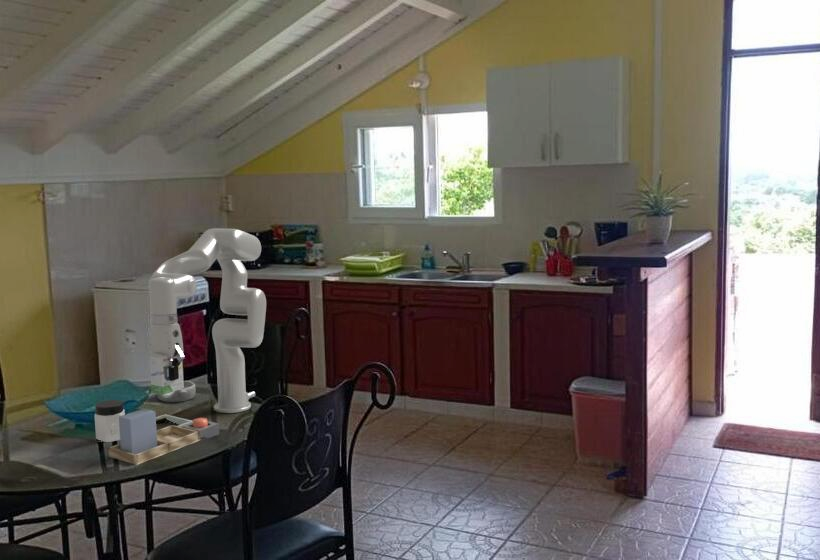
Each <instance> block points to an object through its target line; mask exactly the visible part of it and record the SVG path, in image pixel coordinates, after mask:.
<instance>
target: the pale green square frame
mask: <svg viewBox="0 0 820 560" xmlns="http://www.w3.org/2000/svg"><path fill="white" fill-rule="evenodd" d="M162 418H166V419H167V420H169V421H171V422H173V423H172V424H175V423H176V425H177V426H179V427H182V426H184V425H187V424H189V423H192V422H193V419H192V420H191V419H188V418H182V417H179V416H175V415H170V414H166V413H164V414H162V415H159V416H156V419H162ZM171 422H170V423H171Z"/></svg>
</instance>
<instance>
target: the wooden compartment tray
mask: <svg viewBox="0 0 820 560" xmlns="http://www.w3.org/2000/svg"><path fill="white" fill-rule="evenodd" d="M199 441H201V438H200V432H199V431H195V430H191V429H187V428H183V427H179V426H178V425H174V424H171V425H168V426H166V427H163V428H160V429H157V447H154V448H152V449H149V450H146V451H144V452H141V453H138V454H133V453H129V452H126V451H122V450H121V444H120V443H118V444H115V445H112V446H110V447H107V457H109V458H112V459H117V460H120V461H122V462H123V461H124V462H127V463H129V464H133V465H137V466H139V465H141V464H143V463H145V462H148V461H150V460H153V459H157V458H158V457H161V456H164V455H166V454H169V453H172V452H174V451H176V450H179V449H181V448H184V447H186V446H188V445H192V444H194V443H197V442H199Z"/></svg>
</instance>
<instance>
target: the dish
mask: <svg viewBox="0 0 820 560" xmlns="http://www.w3.org/2000/svg"><path fill="white" fill-rule="evenodd" d="M183 384H184V388H182V389H179V390H176V391H173V392H170V393H167V394H164V395H160V394H156V396H157V397H156V398H158V399H159V401H162V402H168V403H179V402H185V401H188V400H191V399H193V398H194V397H195V395H196V384H195V383H194V382H192V381H190V380H183Z"/></svg>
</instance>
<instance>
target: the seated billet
mask: <svg viewBox="0 0 820 560" xmlns="http://www.w3.org/2000/svg"><path fill="white" fill-rule="evenodd" d="M156 417H157V415H156V410H152V409H147V408H141V409H138V410H135V411H133V412H129V413H125V415H122V416H119V429H120V440H119V444H121V450H122V451H126V452H129V453H133V454H138V453H141V452H144V451H146V450H149V449H152V448H154V447H157V430H158V429H157V424H156Z"/></svg>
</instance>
